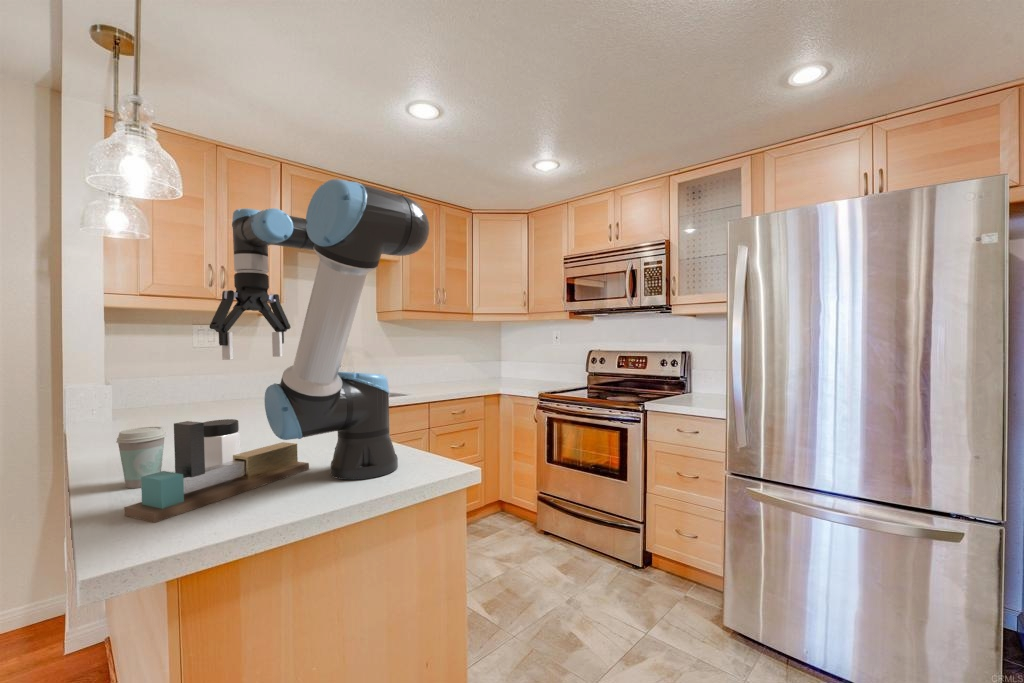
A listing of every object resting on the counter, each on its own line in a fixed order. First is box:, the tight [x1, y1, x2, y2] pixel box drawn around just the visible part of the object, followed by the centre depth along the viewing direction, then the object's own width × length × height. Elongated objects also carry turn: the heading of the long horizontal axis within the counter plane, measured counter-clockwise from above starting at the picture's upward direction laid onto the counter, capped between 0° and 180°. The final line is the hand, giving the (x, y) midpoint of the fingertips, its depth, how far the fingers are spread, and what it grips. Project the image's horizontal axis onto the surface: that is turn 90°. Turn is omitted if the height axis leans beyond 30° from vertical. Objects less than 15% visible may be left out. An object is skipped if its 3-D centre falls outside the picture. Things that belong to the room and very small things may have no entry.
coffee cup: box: [115, 426, 167, 489], centre depth 100 cm, size 9×8×12 cm
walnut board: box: [123, 461, 310, 523], centre depth 95 cm, size 33×9×2 cm, turn 157°
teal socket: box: [141, 470, 184, 509], centre depth 83 cm, size 4×6×5 cm, turn 67°
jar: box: [203, 418, 241, 468], centre depth 107 cm, size 9×8×12 cm
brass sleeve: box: [233, 441, 299, 480], centre depth 103 cm, size 13×5×5 cm, turn 157°
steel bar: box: [173, 420, 246, 494], centre depth 91 cm, size 20×5×13 cm, turn 157°
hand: (254, 358), depth 113 cm, fingers open, 13 cm apart
